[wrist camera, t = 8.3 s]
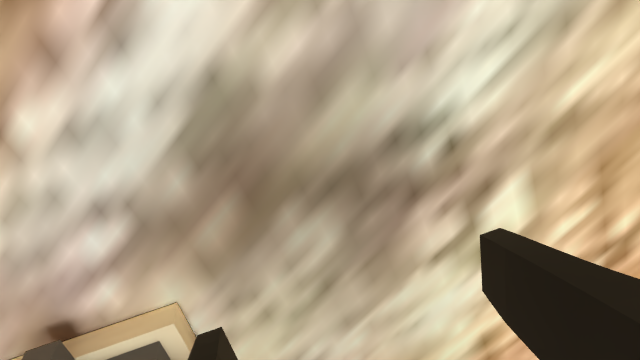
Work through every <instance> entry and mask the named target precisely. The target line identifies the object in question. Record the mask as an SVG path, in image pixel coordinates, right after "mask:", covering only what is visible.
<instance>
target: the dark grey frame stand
mask: <svg viewBox="0 0 640 360" xmlns="http://www.w3.org/2000/svg"><path fill="white" fill-rule="evenodd" d="M21 360H75V359H74V357H73V356H72V355H71V353H70V352H69V351H68V350H67V348H66V347H65V346H64V344H63V343H62V342H61V341H60V340H58V341H55V342H52V343H49V344H46V345H44V346H41V347H38V348H35V349H32V350H29V351H26V353H25V354H24V356H23V358H22V359H21ZM106 360H171V359H170V357H169V356H168V354H167V353H166V351H165V349H164V348H163V346H162V344H161V343H160V341H157V342H154V343H152V344H149V345H146V346H143V347H140V348H137V349H135V350H132V351H129V352H126V353H123V354H120V355H118V356H115V357H112V358H109V359H106Z"/></svg>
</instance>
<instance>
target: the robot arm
mask: <svg viewBox="0 0 640 360" xmlns="http://www.w3.org/2000/svg"><path fill="white" fill-rule="evenodd" d="M480 249H481V270H482V291H483V292H484V294H485V295H486V297H487V298H488V299H489V301H490V302H491V304H492V305H493V306H494V308H495V309H496V311H497V312H498V313H499V315H500V316H501V317H502V319H503V320H504V321H505V323H506V324H507V325H508V326H509V327H510V328H511V329H512V330H513V332H514V333H515V334H516V335H517V336H518V337H519V338H520V339H521V340H522V341H523V342H524V343H525V345H526V346H527V347H528V348H529V349H530V350H531V351H532V352H533V353H534V354H535V355H536V356H537V358H538V359H539V360H640V279H637V278H634V277H631V276H628V275H625V274H622V273H619V272H616V271H613V270H610V269H608V268H605V267H602V266H599V265H596V264H594V263H591V262H588V261H585V260H583V259H580V258H577V257H575V256H572V255H569V254H567V253H564V252H562V251H559V250H556V249H554V248H551V247H549V246H546V245H544V244H541V243H539V242H536V241H533V240H531V239H528V238H526V237H523V236H521V235H518V234H515V233H513V232H510V231H507V230H504V229H501V228H499V229H496V230H493V231H490V232H487V233H484V234H482V235H480ZM188 360H238V359H237V357H236V355H235V353H234V351H233V349H232V347H231V345H230V343H229V341H228V339H227V337H226V335H225V333H224V331H223V329H222V327H220V328H217V329H214V330H211V331H209V332H206V333H203V334H200V335H198V336H197V338H196V339H195V342H194V344H193V347H192V349H191V352H190V354H189V357H188Z"/></svg>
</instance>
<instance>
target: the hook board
mask: <svg viewBox="0 0 640 360" xmlns="http://www.w3.org/2000/svg"><path fill="white" fill-rule="evenodd" d="M195 339H196V337H195V335H194V333H193V331H192V329H191V327H190V326H189V324H188V322H187V320H186V318H185V316H184V315H183V313H182V311H181V309H180V307H179V305H178V304H177V303H174V304H171V305H169V306H166V307H163V308H160V309H157V310H154V311H151V312H148V313H145V314H142V315H139V316H136V317H134V318H131V319H128V320H125V321H122V322H119V323H116V324H113V325H110V326H107V327H104V328H102V329H99V330H96V331H93V332H90V333H87V334H84V335H81V336H78V337H75V338H72V339H69V340H67V341H64V342H62V343H63V344H64V346H65V347H66V348H67V350H68V351H69V352H70V353H71V355H72V356H73V357H74V359H75V360H106V359H109V358H112V357H115V356H118V355H120V354H123V353H126V352H129V351H132V350H135V349H137V348H140V347H143V346H146V345H149V344H152V343H154V342H157V341H160V343H161V344H162V346H163V348H164V349H165V351H166V353H167V354H168V356H169V357H170V359H171V360H188V357H189V354H190V352H191V349H192V347H193V344H194V342H195ZM23 356H24V355H23ZM23 356H20V357H17V358H14V359H11V360H21V359H22V358H23Z"/></svg>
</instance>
